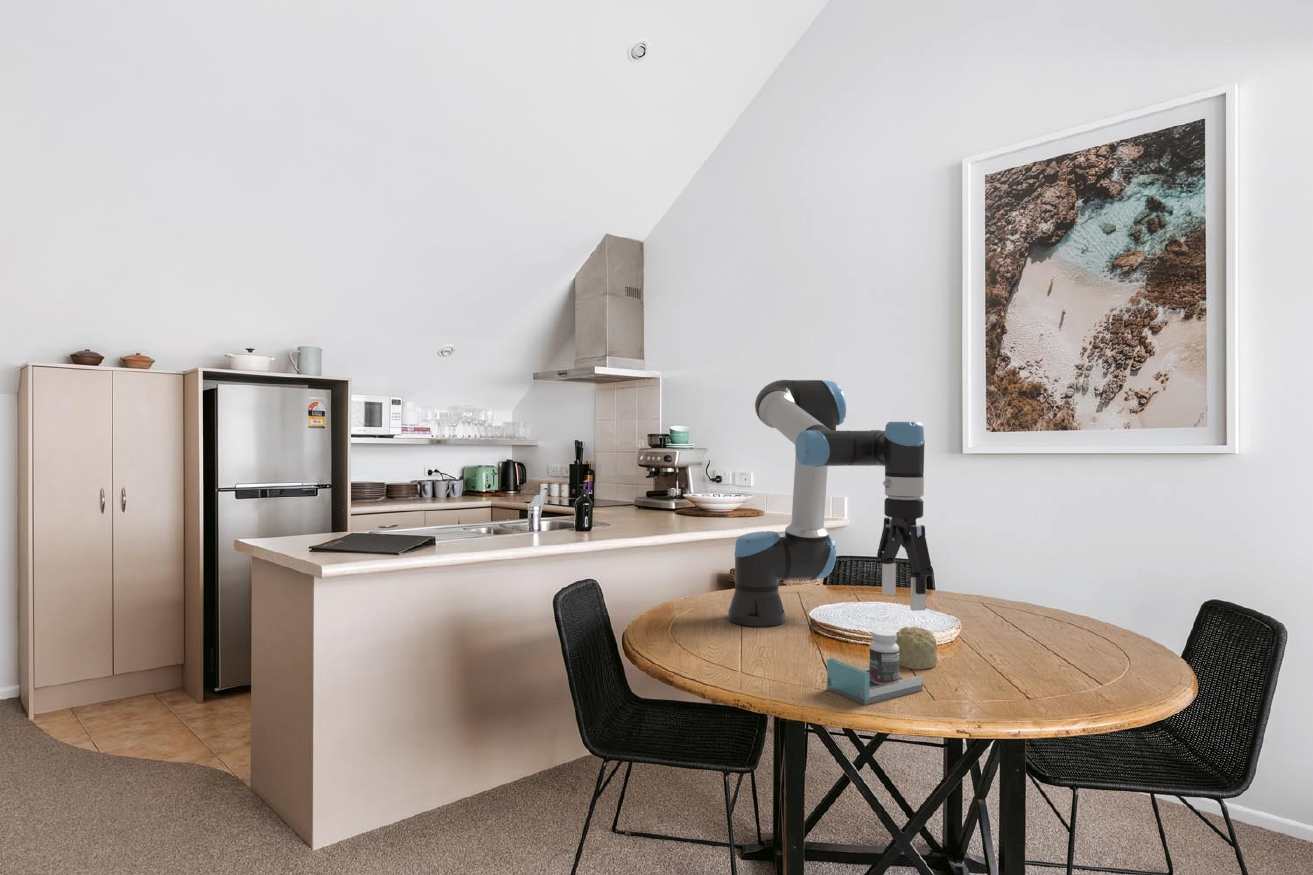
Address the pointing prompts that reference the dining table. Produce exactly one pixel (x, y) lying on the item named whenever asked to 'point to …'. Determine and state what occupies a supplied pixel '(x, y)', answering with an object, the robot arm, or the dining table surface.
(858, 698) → the grey tray holder
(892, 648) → the pill bottle
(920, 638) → the decorative object
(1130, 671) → the dining table surface
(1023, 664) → the dining table surface
